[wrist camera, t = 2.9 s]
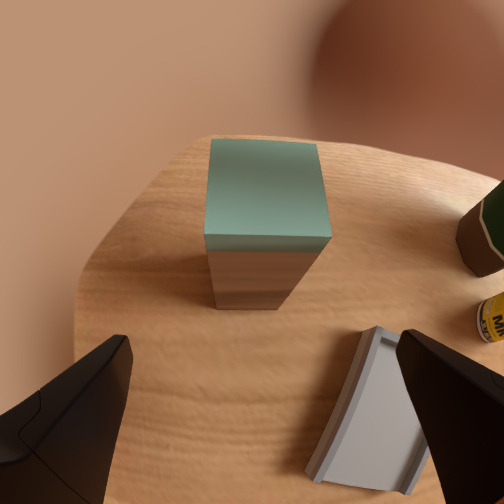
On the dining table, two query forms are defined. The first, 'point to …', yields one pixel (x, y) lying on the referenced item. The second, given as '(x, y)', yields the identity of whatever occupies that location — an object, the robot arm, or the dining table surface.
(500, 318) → the supplement bottle
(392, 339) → the tray
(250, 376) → the dining table surface
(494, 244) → the beer bottle
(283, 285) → the green-topped wooden block
